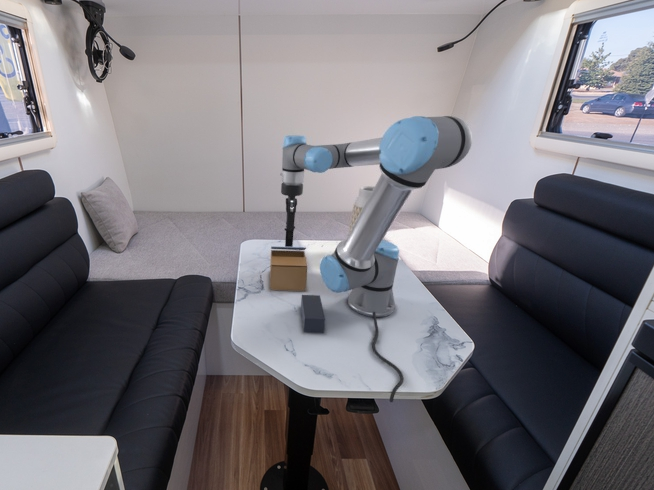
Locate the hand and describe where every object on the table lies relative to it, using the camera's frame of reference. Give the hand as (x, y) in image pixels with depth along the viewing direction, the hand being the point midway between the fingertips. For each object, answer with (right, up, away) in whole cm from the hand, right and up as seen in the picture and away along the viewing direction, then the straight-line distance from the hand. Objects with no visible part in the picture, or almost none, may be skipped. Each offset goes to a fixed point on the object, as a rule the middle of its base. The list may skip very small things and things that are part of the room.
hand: (288, 245), depth 139 cm
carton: (0, -13, +3) cm, 14 cm away
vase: (+33, -4, +24) cm, 41 cm away
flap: (0, -1, +2) cm, 2 cm away
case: (+6, -25, -20) cm, 33 cm away
